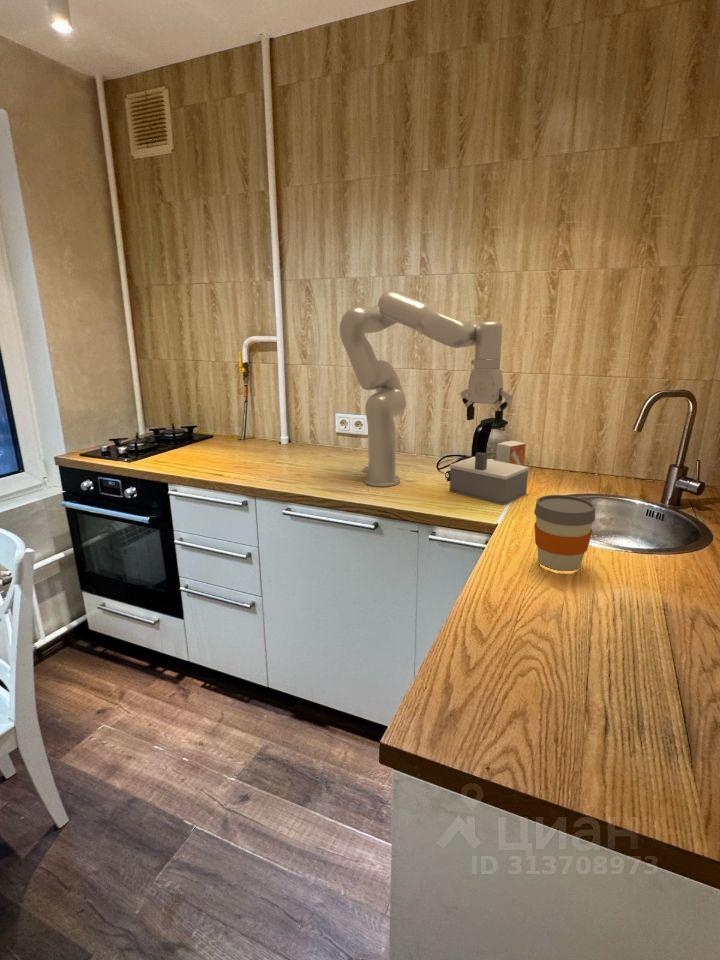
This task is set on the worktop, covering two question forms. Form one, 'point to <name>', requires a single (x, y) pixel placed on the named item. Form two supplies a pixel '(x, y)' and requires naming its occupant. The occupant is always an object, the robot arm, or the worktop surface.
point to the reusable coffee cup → (563, 530)
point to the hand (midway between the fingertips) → (483, 421)
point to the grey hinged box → (488, 486)
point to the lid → (489, 467)
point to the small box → (511, 452)
